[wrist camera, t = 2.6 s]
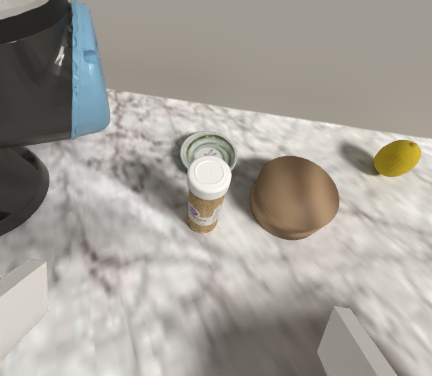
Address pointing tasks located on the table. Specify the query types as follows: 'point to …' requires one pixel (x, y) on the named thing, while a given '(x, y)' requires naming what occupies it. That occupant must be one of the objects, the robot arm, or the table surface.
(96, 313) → the table surface
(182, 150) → the saucer
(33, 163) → the robot arm
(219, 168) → the sprinkles bottle
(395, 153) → the lemon
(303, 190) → the walnut pedestal
